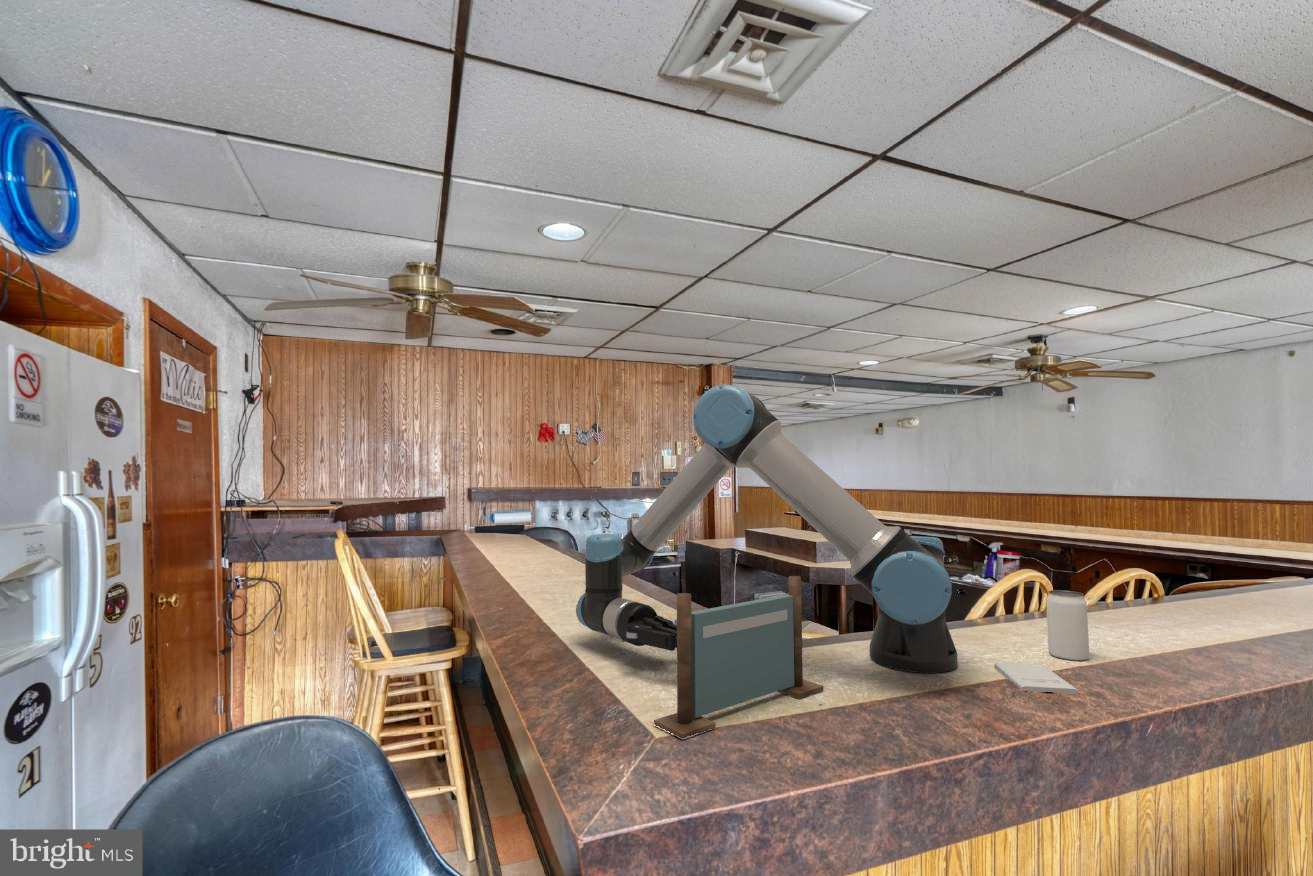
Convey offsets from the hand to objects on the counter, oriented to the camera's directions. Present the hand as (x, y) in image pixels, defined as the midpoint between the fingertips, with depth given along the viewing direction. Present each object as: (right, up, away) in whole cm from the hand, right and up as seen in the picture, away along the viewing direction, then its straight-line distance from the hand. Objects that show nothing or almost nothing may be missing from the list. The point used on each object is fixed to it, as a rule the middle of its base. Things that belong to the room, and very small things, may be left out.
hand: (717, 649), depth 97 cm
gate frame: (+3, -6, -6) cm, 10 cm away
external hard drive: (+54, -8, +5) cm, 55 cm away
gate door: (+3, -5, -6) cm, 9 cm away
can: (+69, -8, +19) cm, 72 cm away
